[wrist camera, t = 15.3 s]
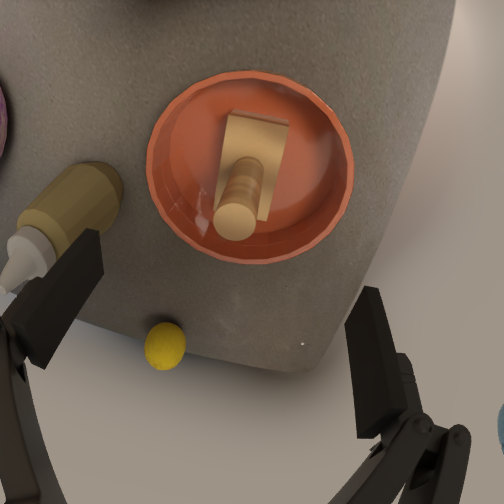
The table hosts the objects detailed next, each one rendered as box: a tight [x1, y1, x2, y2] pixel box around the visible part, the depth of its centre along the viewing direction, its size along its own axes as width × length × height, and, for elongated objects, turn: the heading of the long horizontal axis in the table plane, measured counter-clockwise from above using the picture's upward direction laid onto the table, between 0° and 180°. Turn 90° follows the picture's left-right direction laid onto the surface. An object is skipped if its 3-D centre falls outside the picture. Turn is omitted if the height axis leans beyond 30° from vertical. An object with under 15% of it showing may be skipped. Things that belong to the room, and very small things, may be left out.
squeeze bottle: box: [0, 162, 123, 295], centre depth 25 cm, size 8×8×18 cm
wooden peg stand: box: [213, 109, 289, 241], centre depth 24 cm, size 9×5×12 cm, turn 169°
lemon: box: [144, 322, 186, 370], centre depth 41 cm, size 6×6×8 cm
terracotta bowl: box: [146, 69, 354, 264], centre depth 28 cm, size 17×17×6 cm
